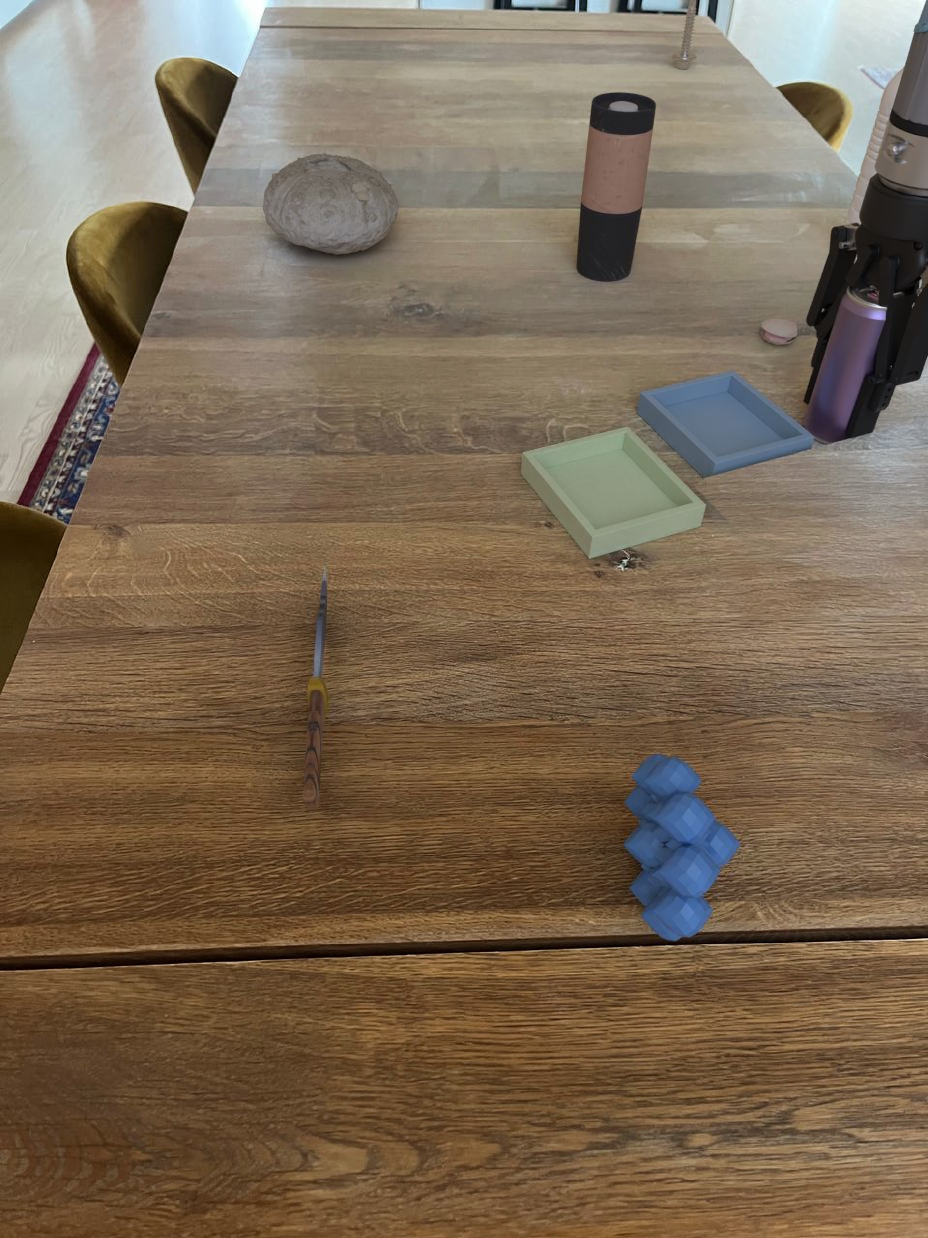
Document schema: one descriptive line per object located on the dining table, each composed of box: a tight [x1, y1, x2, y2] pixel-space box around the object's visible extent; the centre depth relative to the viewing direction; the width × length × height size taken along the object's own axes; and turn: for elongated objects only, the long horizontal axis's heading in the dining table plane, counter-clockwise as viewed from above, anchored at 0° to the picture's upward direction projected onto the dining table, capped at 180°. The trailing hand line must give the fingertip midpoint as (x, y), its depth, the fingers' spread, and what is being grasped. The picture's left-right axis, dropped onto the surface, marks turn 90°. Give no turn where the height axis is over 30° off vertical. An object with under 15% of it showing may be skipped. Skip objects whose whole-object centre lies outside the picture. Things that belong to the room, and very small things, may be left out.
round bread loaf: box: [262, 152, 399, 256], centre depth 124 cm, size 18×18×10 cm
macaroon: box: [759, 317, 799, 346], centre depth 110 cm, size 4×5×2 cm
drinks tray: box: [636, 369, 815, 479], centre depth 95 cm, size 14×12×2 cm
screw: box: [671, 0, 697, 70], centre depth 185 cm, size 13×5×5 cm
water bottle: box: [843, 66, 904, 263], centre depth 117 cm, size 9×6×25 cm
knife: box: [302, 567, 329, 811], centre depth 69 cm, size 25×1×5 cm, turn 4°
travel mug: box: [576, 91, 657, 282], centre depth 116 cm, size 8×8×20 cm
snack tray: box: [520, 426, 707, 560], centre depth 87 cm, size 14×12×2 cm
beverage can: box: [803, 285, 902, 445], centre depth 91 cm, size 6×6×15 cm
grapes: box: [623, 752, 741, 942], centre depth 55 cm, size 12×7×12 cm, turn 1°
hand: (837, 416), depth 95 cm, fingers closed on beverage can, 6 cm apart
